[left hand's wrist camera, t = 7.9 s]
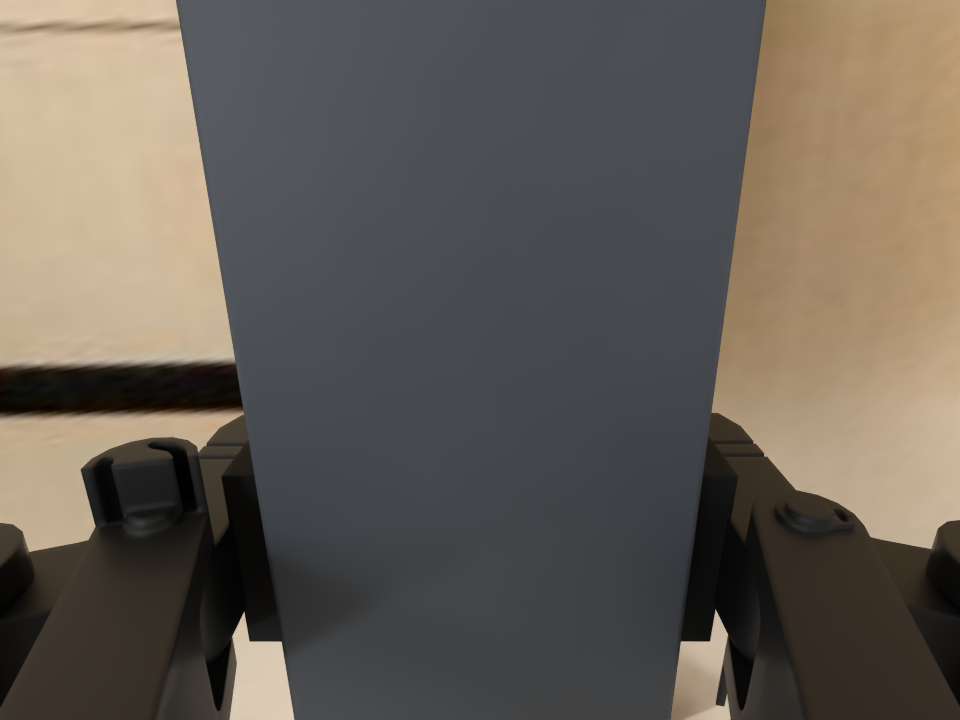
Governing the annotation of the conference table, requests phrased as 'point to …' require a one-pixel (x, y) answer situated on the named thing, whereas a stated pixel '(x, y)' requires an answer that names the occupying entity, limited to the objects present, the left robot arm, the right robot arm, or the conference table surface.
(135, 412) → the conference table surface
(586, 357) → the bar
